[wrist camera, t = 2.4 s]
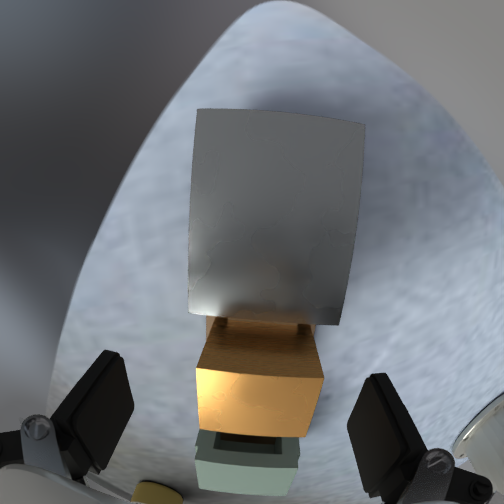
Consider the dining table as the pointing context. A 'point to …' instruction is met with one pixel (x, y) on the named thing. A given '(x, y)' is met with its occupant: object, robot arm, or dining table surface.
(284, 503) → the dining table surface
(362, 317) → the dining table surface
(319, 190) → the sleeve
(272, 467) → the socket
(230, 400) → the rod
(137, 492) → the brown bark cylinder
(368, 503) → the dining table surface
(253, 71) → the dining table surface
